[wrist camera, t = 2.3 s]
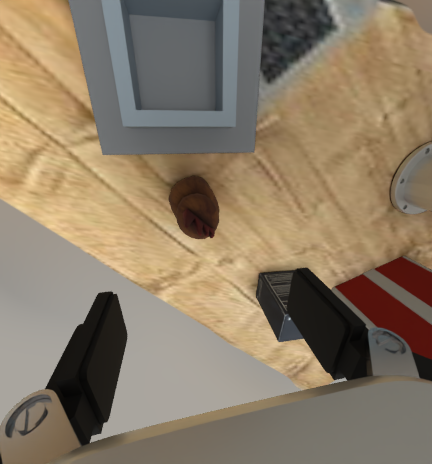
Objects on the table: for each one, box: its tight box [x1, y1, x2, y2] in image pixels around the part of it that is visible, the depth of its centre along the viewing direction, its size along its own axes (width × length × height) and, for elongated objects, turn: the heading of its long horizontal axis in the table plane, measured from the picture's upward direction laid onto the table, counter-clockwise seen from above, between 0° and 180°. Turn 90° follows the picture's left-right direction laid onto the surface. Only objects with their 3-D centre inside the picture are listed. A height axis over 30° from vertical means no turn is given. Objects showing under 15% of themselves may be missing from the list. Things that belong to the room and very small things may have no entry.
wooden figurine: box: [169, 176, 219, 239], centre depth 24 cm, size 7×6×15 cm
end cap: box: [69, 0, 265, 155], centre depth 22 cm, size 20×18×6 cm
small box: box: [256, 270, 304, 342], centre depth 37 cm, size 11×6×10 cm, turn 88°
